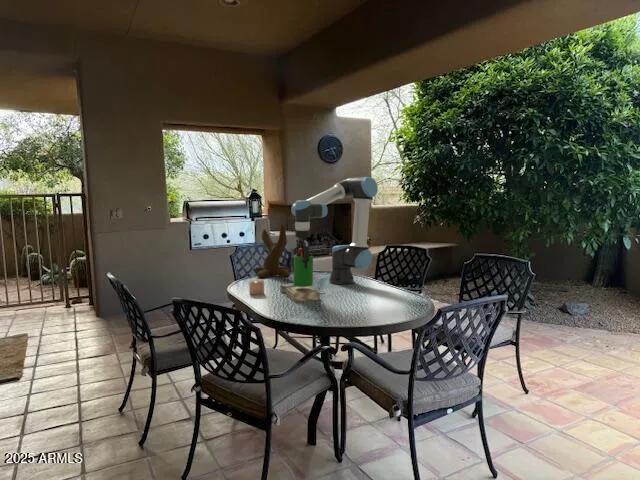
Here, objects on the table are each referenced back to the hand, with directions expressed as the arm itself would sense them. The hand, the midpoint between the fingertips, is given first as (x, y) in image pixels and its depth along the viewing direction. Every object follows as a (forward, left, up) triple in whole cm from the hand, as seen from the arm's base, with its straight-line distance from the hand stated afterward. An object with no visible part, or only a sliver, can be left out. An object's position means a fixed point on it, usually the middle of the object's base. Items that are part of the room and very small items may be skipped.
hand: (302, 272), depth 230 cm
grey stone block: (+3, -16, -14) cm, 21 cm away
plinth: (0, 0, -13) cm, 13 cm away
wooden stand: (-1, -68, -14) cm, 69 cm away
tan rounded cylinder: (+21, -17, -13) cm, 30 cm away
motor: (0, 0, -7) cm, 7 cm away
